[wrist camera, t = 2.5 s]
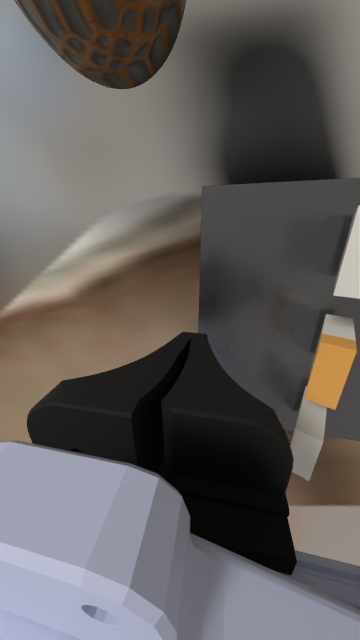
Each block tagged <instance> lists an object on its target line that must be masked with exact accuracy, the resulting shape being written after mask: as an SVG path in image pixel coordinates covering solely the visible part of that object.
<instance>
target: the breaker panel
mask: <svg viewBox="0 0 360 640" xmlns="http://www.w3.org/2000/svg"><path fill="white" fill-rule="evenodd" d="M359 205H360V178H350V179H333V180H332V179H331V180H312V181H293V182H275V183H254V184H235V185H216V186H202V219H201V255H200V291H199V327H198V333H203V334H206V335H207V336H208V342H209V345H210V347H211V349H212V351H213V353H214V355H215V357H216V359H217V360H218V362H219V363H220V365H221V366H222V368H223V369H224V370H225V371H226V373H227V374H228V375H229V376H230V377H231V378H232V379H233V380H234V381H235V382H236V383H237V384H238V385H239V386H241V387H242V388H243V389H244V390H246V391H247V392H248V393H250V394H251V395H252V396H254V397H255V398H257V399H258V400H260V401H262V402H263V403H265V404H266V405H268V406H269V407H271V408H273V409H274V411H275V413H276V415H277V417H278V419H279V421H280V423H281V425H282V427H283V429H284V430H291V431H294V428H295V424H296V420H297V416H298V413H299V409H300V406H301V402H302V398H303V395H304V391H305V388H306V386H307V384H308V380H309V376H310V372H311V367H312V363H313V359H314V355H315V352H316V348H317V345H318V341H319V337H320V334H321V330H322V327H323V323H324V319H325V316H326V314H329V315H334V316H340V317H346V318H352V319H353V322H354V330H355V339H356V347H357V352H356V355H355V357H354V360H353V363H352V366H351V368H350V371H349V374H348V377H347V379H346V382H345V385H344V387H343V390H342V393H341V396H340V398H339V401H338V404H337V407H336V409H335V410H334V409H331V408H328V407H327V411H326V421H325V432H324V436H331V437H337V438H344V439H351V440H357V441H360V299H358V298H350V297H342V296H334V295H333V294H334V287H335V281H336V276H337V273H338V269H339V266H340V262H341V258H342V255H343V251H344V248H345V244H346V240H347V237H348V233H349V230H350V226H351V223H352V219H353V215H354V213H355V211H356V209H357V207H358V206H359Z"/></svg>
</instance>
